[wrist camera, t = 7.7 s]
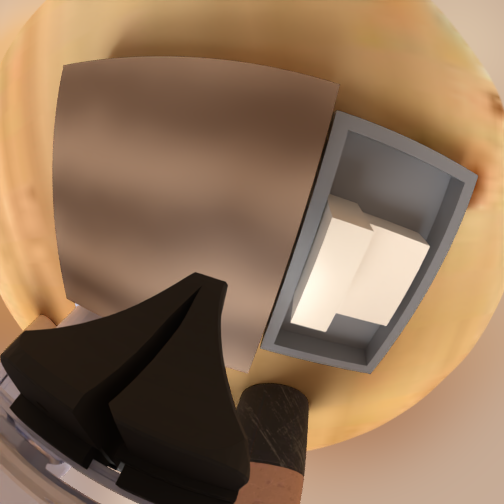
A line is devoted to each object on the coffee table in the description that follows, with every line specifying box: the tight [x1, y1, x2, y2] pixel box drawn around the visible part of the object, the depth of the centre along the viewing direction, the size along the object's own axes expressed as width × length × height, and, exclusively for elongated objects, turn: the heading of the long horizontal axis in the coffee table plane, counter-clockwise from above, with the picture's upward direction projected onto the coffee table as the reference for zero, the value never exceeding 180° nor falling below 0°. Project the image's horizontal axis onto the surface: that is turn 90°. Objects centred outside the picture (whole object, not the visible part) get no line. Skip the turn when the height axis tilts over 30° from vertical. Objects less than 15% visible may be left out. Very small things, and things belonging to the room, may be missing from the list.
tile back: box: [336, 212, 430, 326], centre depth 16 cm, size 6×4×2 cm
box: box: [260, 110, 478, 374], centre depth 16 cm, size 16×9×2 cm, turn 167°
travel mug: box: [234, 384, 309, 504], centre depth 16 cm, size 8×8×20 cm
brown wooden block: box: [53, 56, 340, 373], centre depth 16 cm, size 18×16×4 cm
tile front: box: [290, 194, 374, 332], centre depth 15 cm, size 6×4×2 cm
